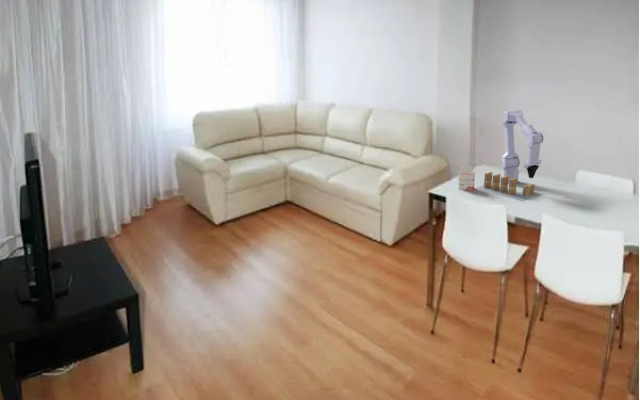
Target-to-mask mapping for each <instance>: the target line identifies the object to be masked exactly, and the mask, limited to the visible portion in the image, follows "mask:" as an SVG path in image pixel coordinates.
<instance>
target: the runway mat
mask: <svg viewBox="0 0 640 400" xmlns="http://www.w3.org/2000/svg"><path fill="white" fill-rule="evenodd" d="M476 189H477V190H480V191H484V192H487V193H492V194H494V195H498V196H502V197H506V198H510V199H513V200H515V201H520V202H524V201H526V200H529V199H531V198H534V197H535V195H531V194H527V195H522V192H521V191H517V190H516V193H515V194H513V195H508V192H509V188H508V191H506V192H503V193H501V192H500V186H499V189H497V190H495V191H493V190H492V185H491V187H489V188H484V184H483V185H481V186H477V187H475V190H476Z"/></svg>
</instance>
